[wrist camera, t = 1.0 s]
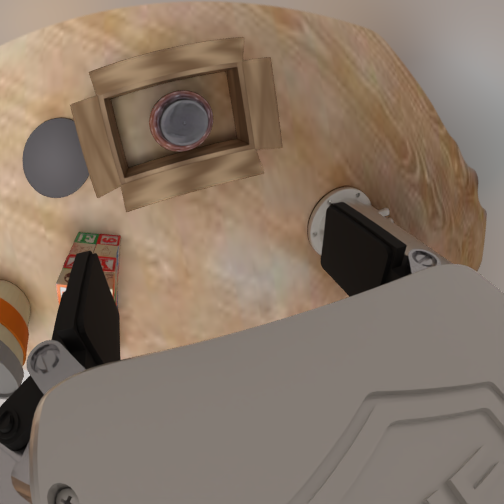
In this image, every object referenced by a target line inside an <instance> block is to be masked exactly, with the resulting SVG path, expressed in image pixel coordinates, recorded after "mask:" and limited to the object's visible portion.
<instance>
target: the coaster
mask: <svg viewBox="0 0 504 504" xmlns="http://www.w3.org/2000/svg"><path fill="white" fill-rule="evenodd" d="M23 169H24V173H25V176H26V178H27V180H28V182H29V183H30V185H31V186H32V187H33V188H34V189H35V190H36V191H37V192H39V193H40V194H42V195H44V196H47V197H51V198H61V197H65V196H68V195H70V194H72V193H74V192H75V191H77V190H78V189H79V188H80V187H81V186H82V185H83V184H84V182H85V181H86V179H87V178H88V176H89V172H88V169H87V166H86V162H85V159H84V156H83V152H82V149H81V145H80V142H79V138H78V134H77V131H76V127H75V123H74V121H73V120H71V119H67V118H56V119H51V120H48V121H46V122H44V123H42V124H41V125H39V126H38V127H37V128H36V129H35V130H34V131H33V132H32V134H31V135H30V137H29V138H28V140H27V142H26V145H25V148H24V152H23Z"/></svg>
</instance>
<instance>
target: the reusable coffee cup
mask: <svg viewBox="0 0 504 504" xmlns="http://www.w3.org/2000/svg"><path fill="white" fill-rule="evenodd" d="M29 317H30V304H29V301H28V299H27V297H26V296H25V294H24V293H23V292H22V291H21V290H20V289H19V288H18V287H17V286H15V285H14V284H12V283H10V282H8V281H4V280H0V399H8V398H9V397H10V396H11V395H12V394H13V393H14V392H15V391H16V390H17V388H18V387H19V386H20V385H21V383H22V380H23V377H24V372H23V368H22V366H23V365H24V363H25V360H26V352H27V344H28V336H29V333H28V322H29Z"/></svg>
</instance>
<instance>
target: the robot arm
mask: <svg viewBox="0 0 504 504" xmlns="http://www.w3.org/2000/svg"><path fill="white" fill-rule="evenodd" d="M388 215H389V209H388V208H383V209H380V210H377V209H376V208H374V207H373V206H371V202H370V200H369V198H368V197H367V196H366V195H365V194H364V193H363V192H361V191H360V190H358V189H356V188H352V187H342V188H338V189H336V190H334V191H331V192H330V193H329V194H327V195H326V196H325V197H324V198H323V199H322V200H320V202H319V203H318V204H317V206H316V207H315V209H314V211H313V212H312V214H311V217H310V220H309V225H308V238H309V242H310V244H311V246H312V247H313V249H314V250H315V251H316V252H317V253H318V254H319V255H321V265H322V267H323V269H324V270H325V271H326V272H327V273H328V274H329V275H330V276H331V277H332V278H333V279H334V280H335V281H336V282H337V283H338V284H339V286H340V287H341V288H342V289H343V290H344V291H345V292H346V293H347V294H348V295H349V296H350V297H348V298H345V299H342V300H339V301H336V302H334V303H331V304H328V305H325V306H322V307H319V308H316V309H313V310H310V311H306V312H303V313H300V314H297V315H294V316H291V317H287V318H284V319H281V320H277V321H274V322H271V323H267V324H264V325H260V326H257V327H253V328H250V329H246V330H243V331H239V332H235V333H232V334H228V335H224V336H220V337H217V338H213V339H209V340H205V341H201V342H197V343H193V344H189V345H185V346H180V347H176V348H172V349H167V350H163V351H158V352H154V353H149V354H145V355H141V356H136V357H132V358H128V359H123V360H120V333H119V312H118V308H117V306H116V303H115V301H114V298H113V296H112V293H111V291H110V288H109V286H108V283H107V280H106V277H105V275H104V272H103V269H102V266H101V263H100V261H99V258H98V255H97V253H94V254H93V253H92V252H91V251H85V252H81V253H77V254H76V256H75V260H74V263H73V266H72V269H71V273H70V276H69V280H68V284H67V287H66V291H65V292H63V294H62V297H61V301H60V305H59V309H58V313H57V317H56V322H55V326H54V331H53V336H52V340H47V341H44V342H42V343H40V344H38V345H37V346H36V347H35V348H34V349H33V350H32V351H31V352H30V354H29V356H28V359H27V369H28V372H29V374H30V376H29V377H28V378H27V379H26V380H25V381H24V382H23V383H22V384H21V385H20V386H19V387H18V388H17V390H16V391H15V392H14V393H13V394H12V395H11V396H10V397H9V398H8V399H7V400H6V401H5V402H4V403H3V404H2V406H1V407H0V504H504V293H503V292H501V291H500V290H499V289H498V288H497V287H495V286H494V285H493V284H492V283H491V282H490V281H488V280H487V279H486V278H484V277H483V276H482V275H481V274H479V273H478V272H476V271H475V270H473V269H472V268H470V267H468V266H464V265H459V264H453V263H451V262H450V261H448V260H447V259H445V258H444V257H442V256H441V255H439V254H438V253H436V252H435V251H434V250H432V249H431V248H429V247H428V246H427V245H425V244H424V243H422V242H421V241H419V240H418V239H417V238H415V237H414V236H412V235H411V234H409V233H408V232H407V231H405V230H404V229H402V228H401V227H399V226H398V225H396V224H395V223H394V222H393V220H392V219H391V218H385V216H388Z"/></svg>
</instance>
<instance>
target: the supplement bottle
mask: <svg viewBox="0 0 504 504" xmlns="http://www.w3.org/2000/svg"><path fill="white" fill-rule="evenodd" d="M149 125H150V130H151V133H152V135H153V137H154V139H155V140H156V141H157V142H158V143H159V144H160V145H161V146H162V147H164V148H166V149H168V150H171V151H177V152H179V151H180V152H181V151H188V150H191V149H193V148H195V147H197V146H199V145H200V144H201V143H202V142H204V140H205V139H206V138H207V137H208V135H209V133H210V131H211V129H212V125H213V114H212V110H211V107H210V105H209V104H208V102H207V101H206V100H205V99H204V98H203V97H202V96H200V95H198V94H196V93H194V92H191V91H175V92H172V93H169V94H167V95H165V96H164V97H162V98H161V99H160V100H159V101H158V102H157V103H156V104H155V106H154V107H153V109H152V111H151V115H150V120H149Z"/></svg>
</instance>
